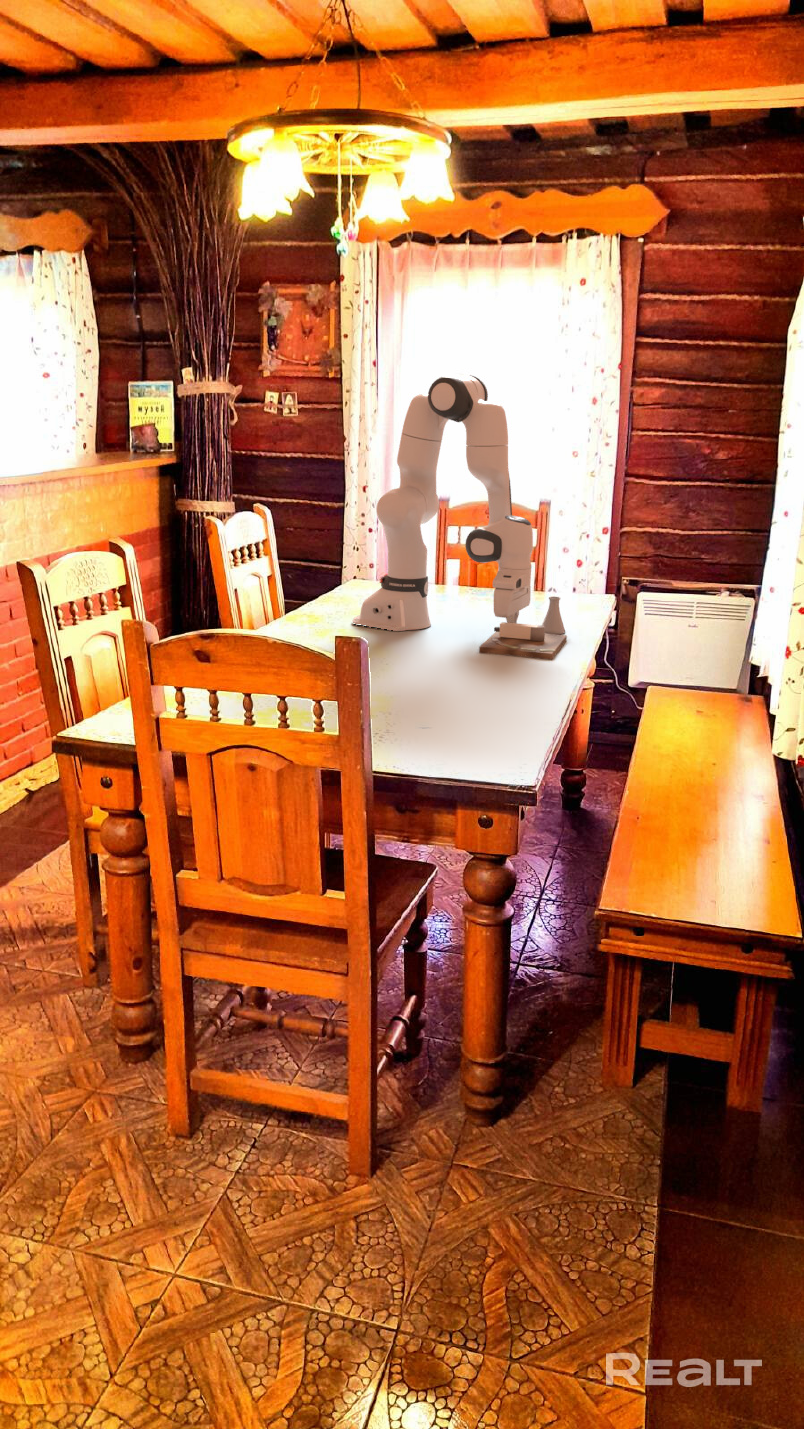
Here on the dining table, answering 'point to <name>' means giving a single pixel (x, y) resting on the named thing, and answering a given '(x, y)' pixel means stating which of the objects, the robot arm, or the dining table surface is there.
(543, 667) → the dining table surface
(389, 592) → the robot arm
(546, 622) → the flask
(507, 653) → the board
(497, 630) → the peg lever
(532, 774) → the dining table surface
